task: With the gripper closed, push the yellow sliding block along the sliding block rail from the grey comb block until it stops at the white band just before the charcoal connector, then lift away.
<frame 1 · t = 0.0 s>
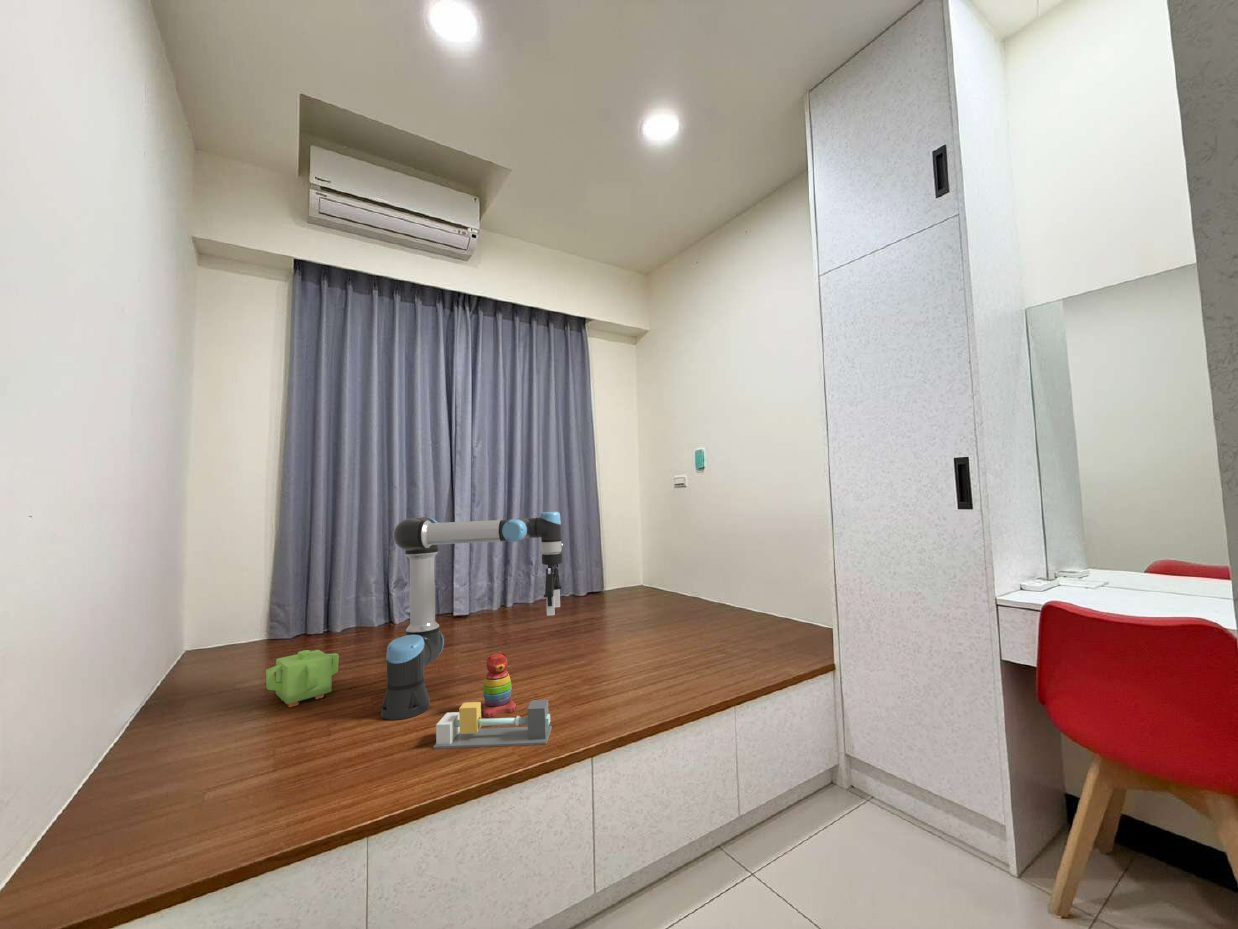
hand: (553, 611, 176), 28 cm above the table, fingers open, 13 cm apart
stacking bear: (498, 709, 159), on the table
yellow sliding block: (470, 717, 140), point 6 cm above the table, slide at 0.0 cm
sliding block rail: (492, 738, 139), on the table
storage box: (303, 699, 176), on the table
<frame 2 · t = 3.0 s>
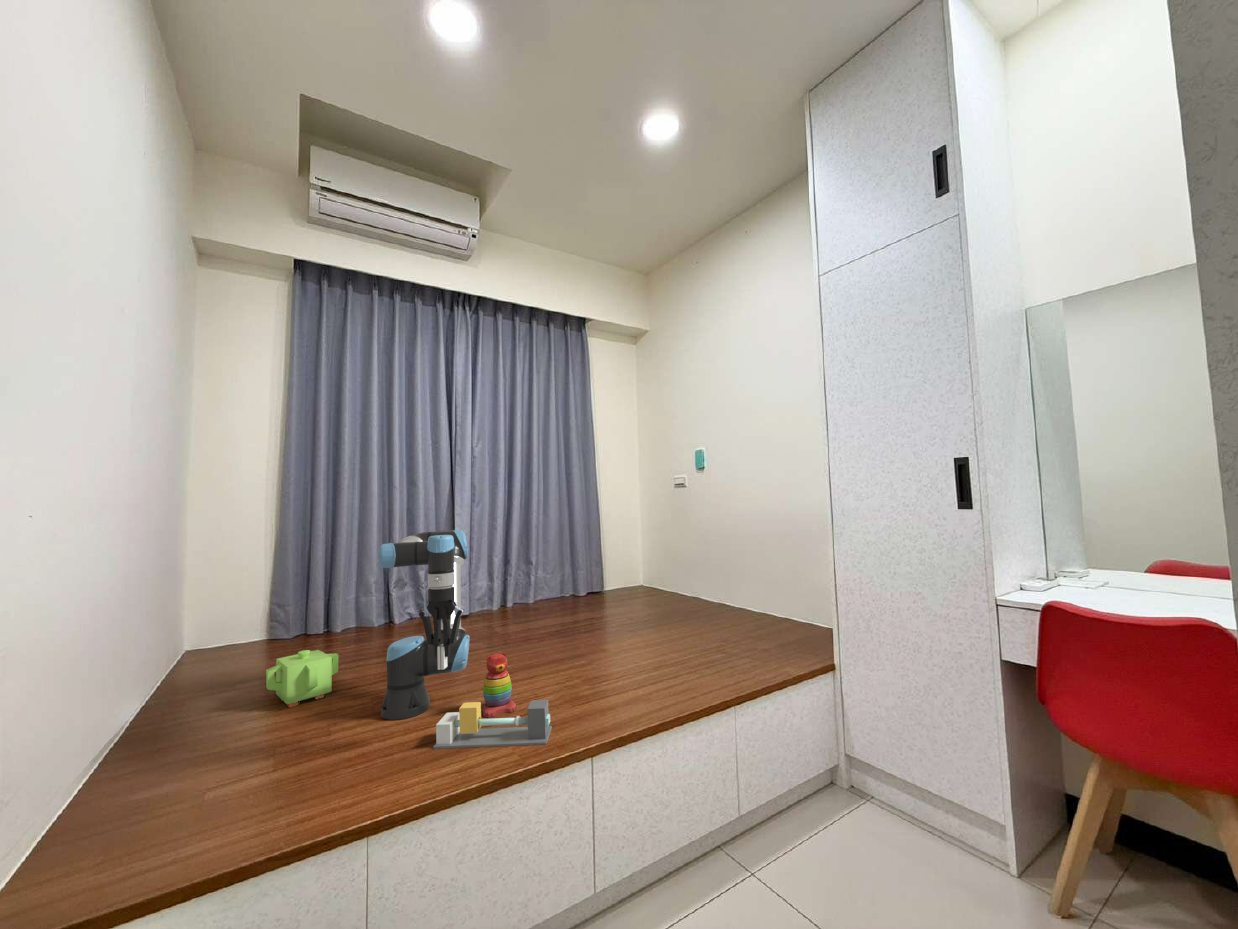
hand: (442, 667, 141), 20 cm above the table, fingers closed
nothing on the table moved.
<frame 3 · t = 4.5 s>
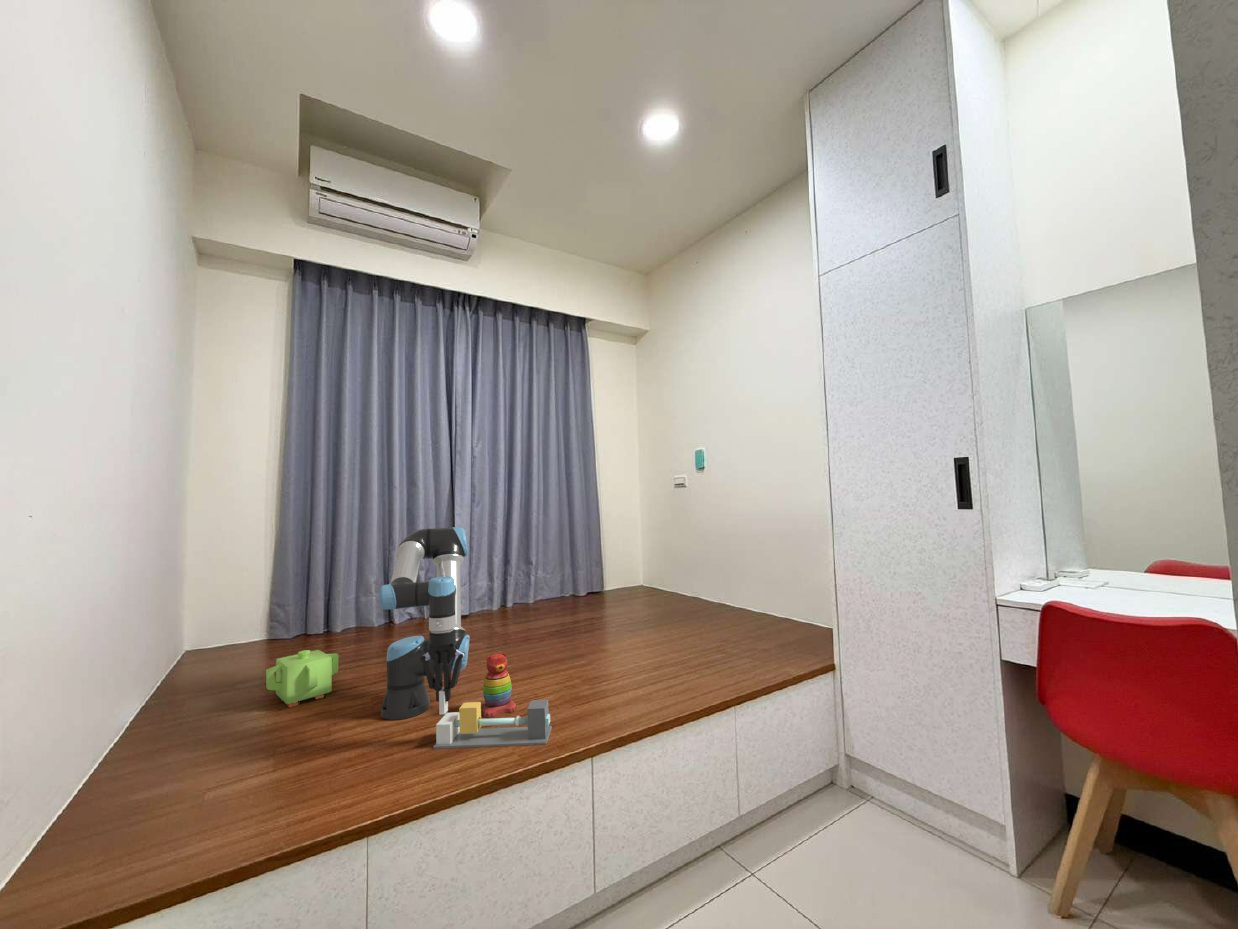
hand: (443, 712, 140), 8 cm above the table, fingers closed
nothing on the table moved.
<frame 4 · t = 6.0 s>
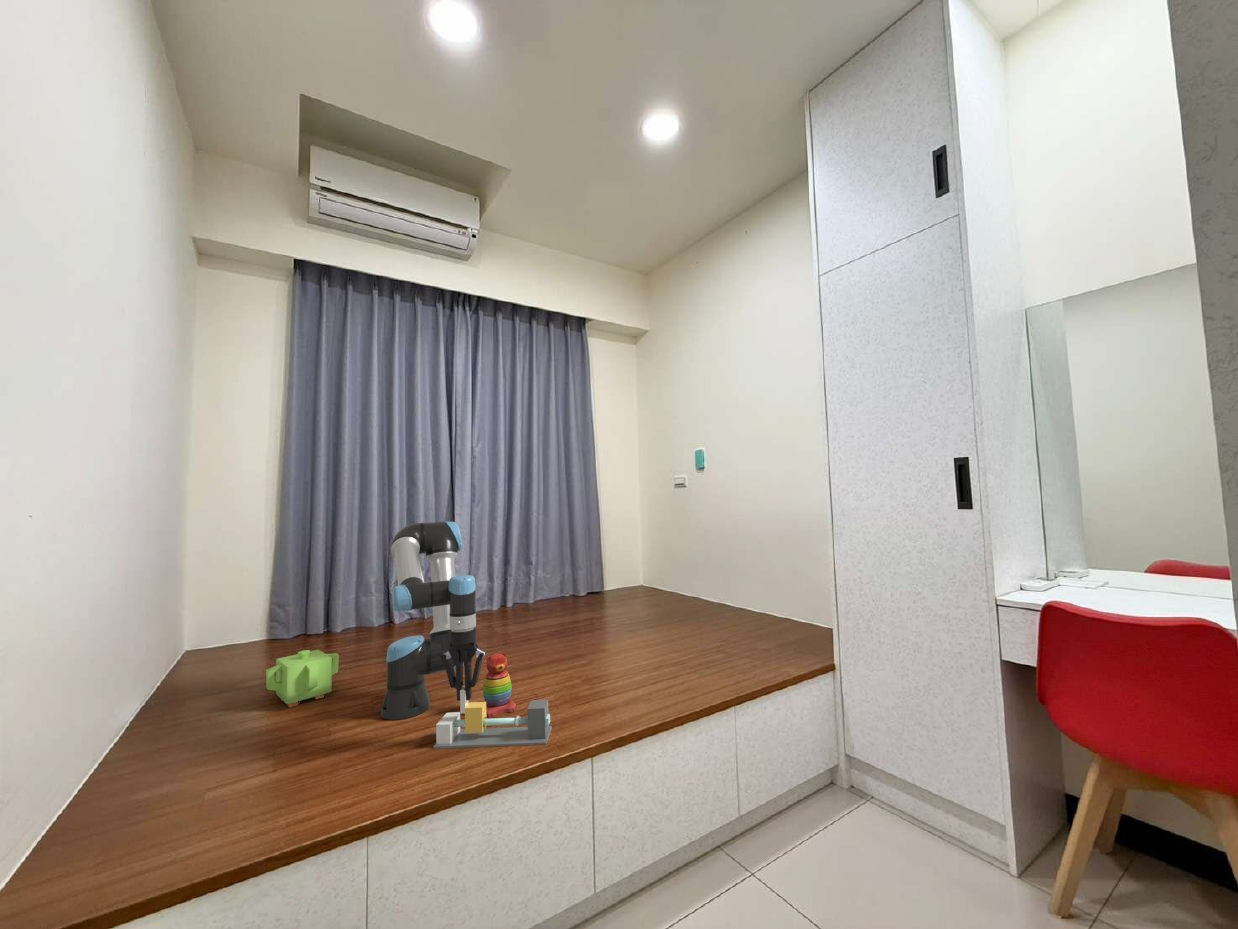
hand: (464, 711, 140), 8 cm above the table, fingers closed
yellow sliding block: (475, 717, 140), point 6 cm above the table, slide at 1.6 cm, touching gripper
everything else where it was.
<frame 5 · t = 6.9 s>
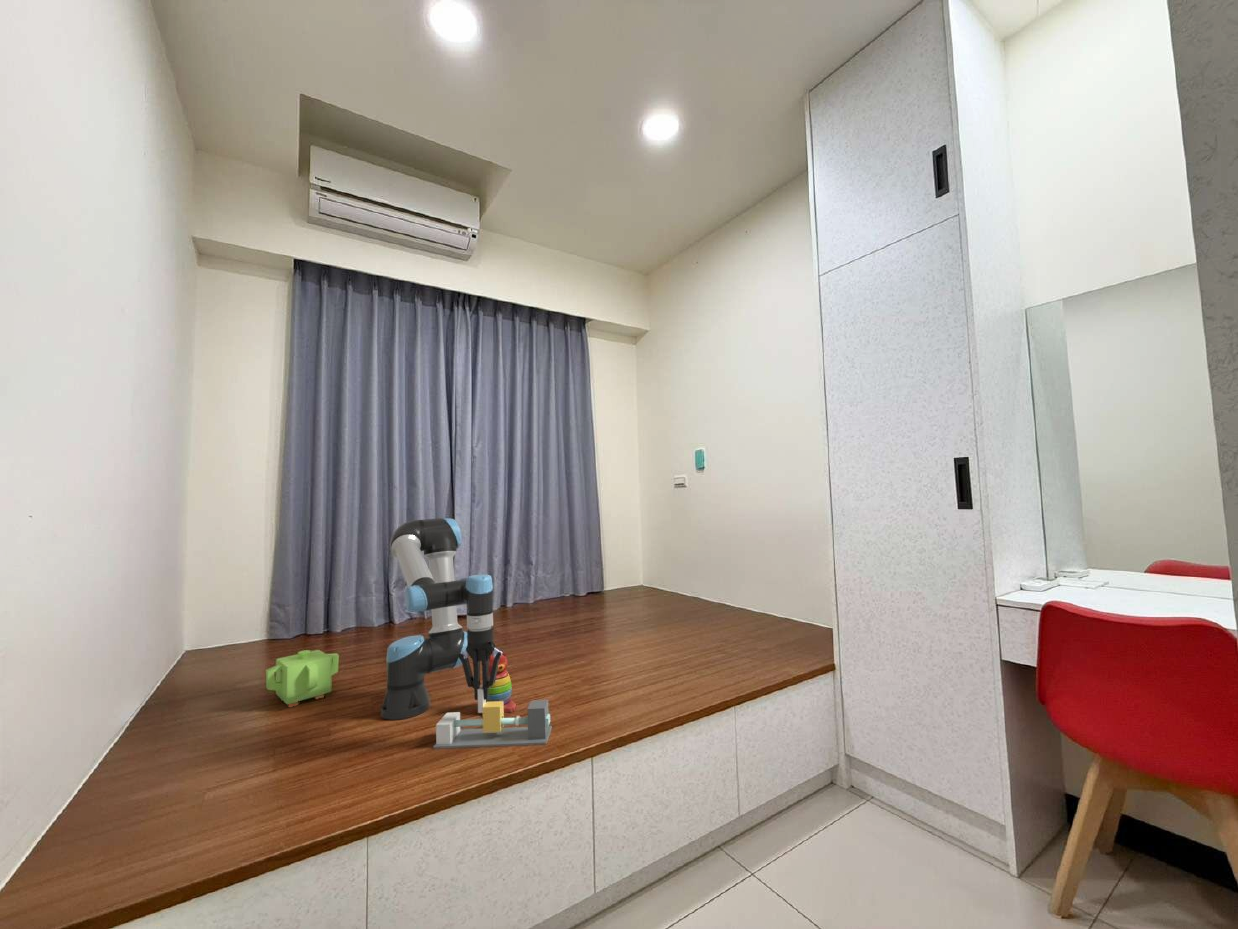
hand: (482, 710, 139), 8 cm above the table, fingers closed
yellow sliding block: (493, 716, 139), point 6 cm above the table, slide at 6.8 cm, touching gripper
everything else where it was.
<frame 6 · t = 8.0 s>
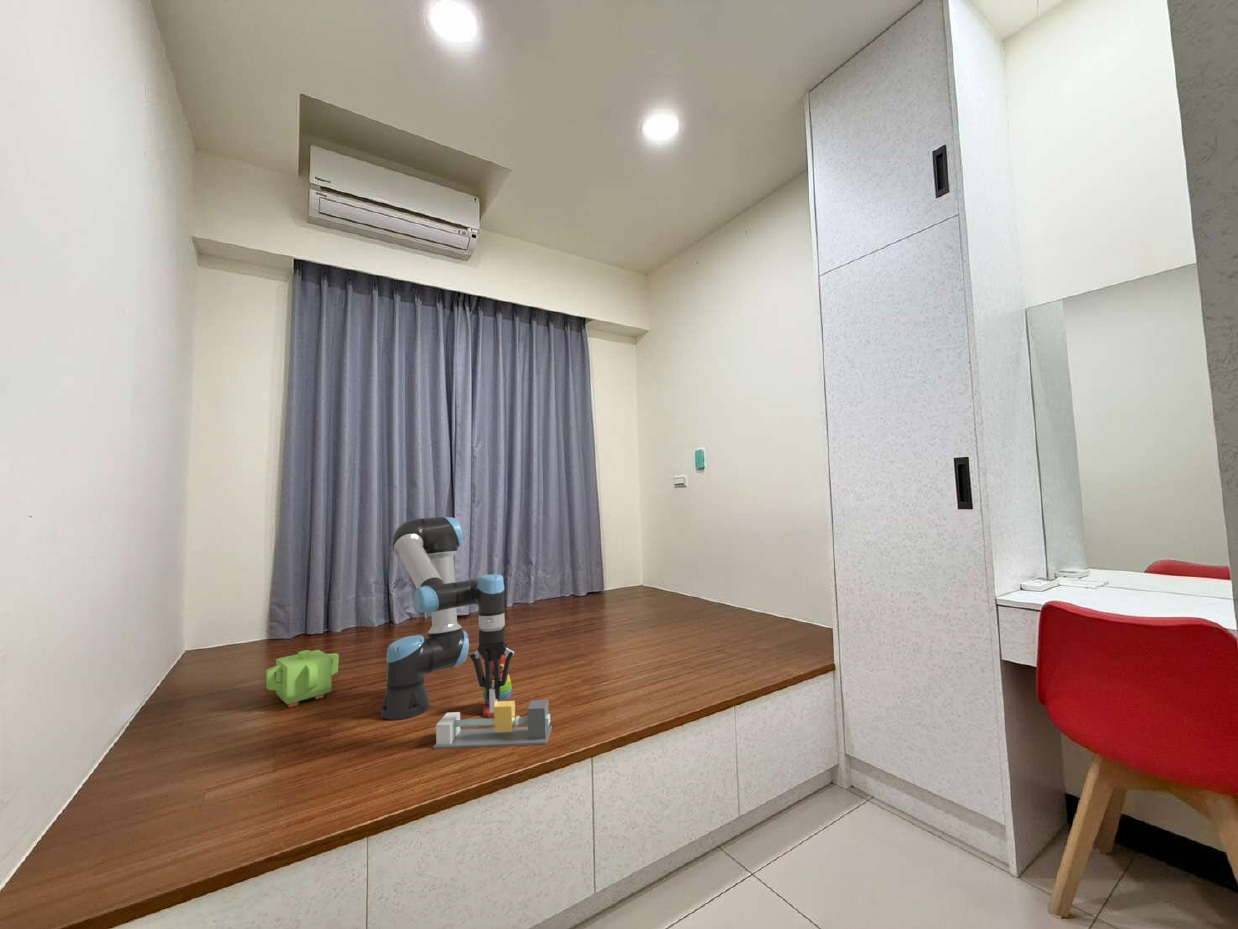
hand: (493, 710, 140), 8 cm above the table, fingers closed
yellow sliding block: (504, 716, 139), point 6 cm above the table, slide at 10.2 cm, touching gripper
everything else where it was.
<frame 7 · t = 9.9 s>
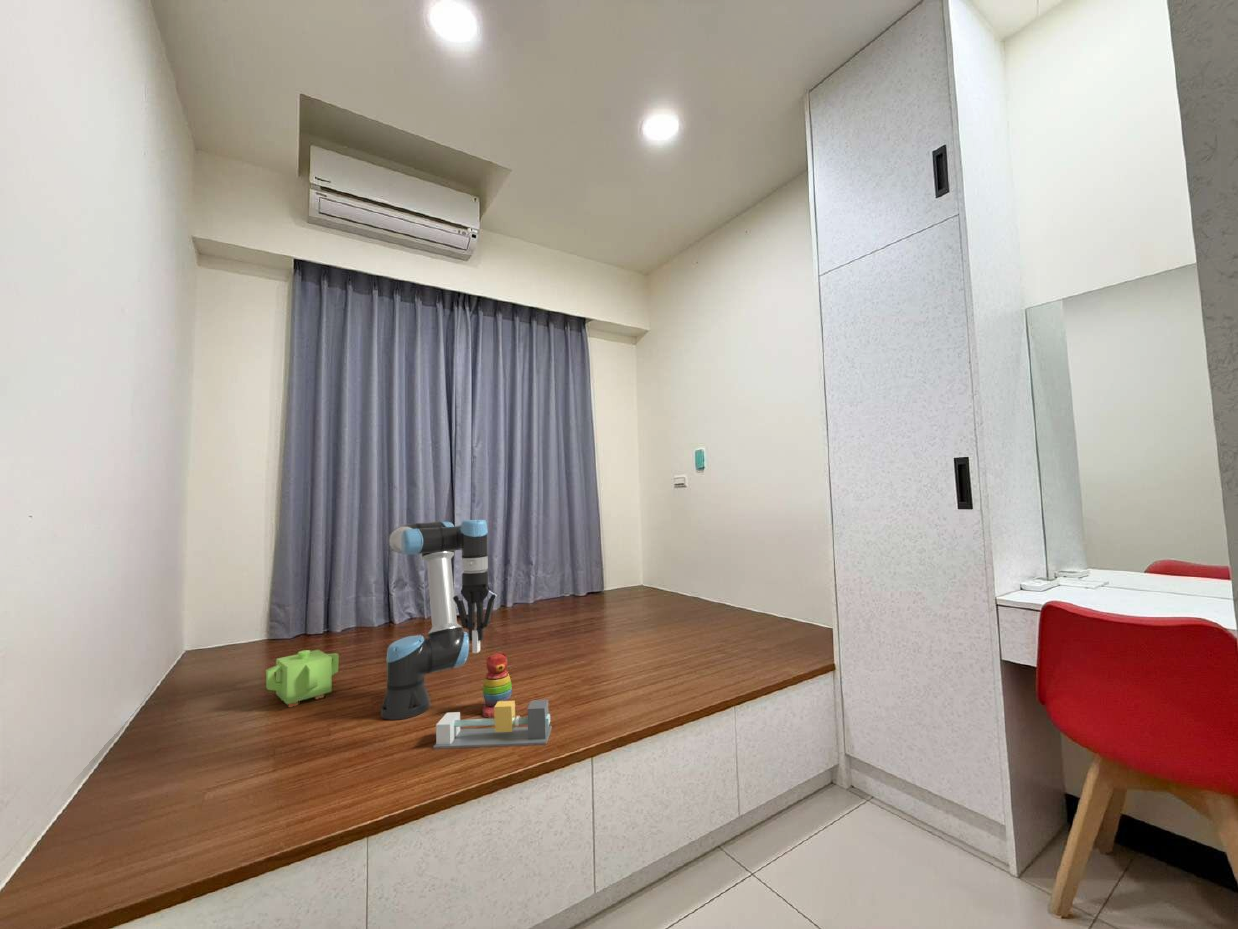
hand: (476, 651, 141), 25 cm above the table, fingers closed
yellow sliding block: (504, 716, 139), point 6 cm above the table, slide at 10.2 cm
everything else where it was.
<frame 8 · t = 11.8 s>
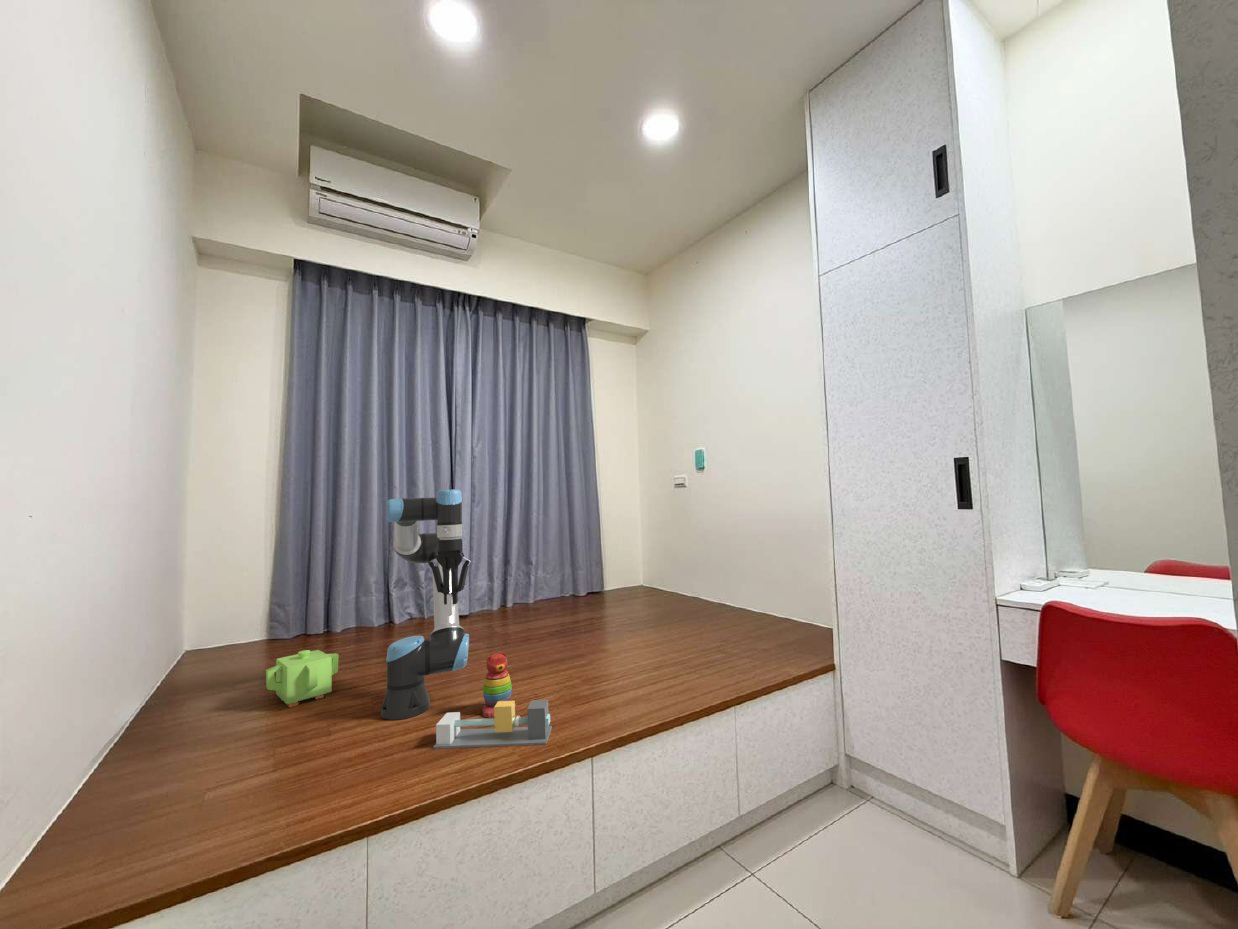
hand: (451, 614, 148), 34 cm above the table, fingers closed
nothing on the table moved.
at the end: yellow sliding block slide at 10.2 cm; yellow sliding block touching nothing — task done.
